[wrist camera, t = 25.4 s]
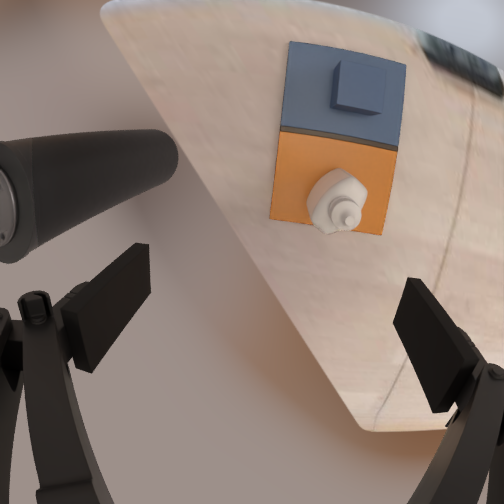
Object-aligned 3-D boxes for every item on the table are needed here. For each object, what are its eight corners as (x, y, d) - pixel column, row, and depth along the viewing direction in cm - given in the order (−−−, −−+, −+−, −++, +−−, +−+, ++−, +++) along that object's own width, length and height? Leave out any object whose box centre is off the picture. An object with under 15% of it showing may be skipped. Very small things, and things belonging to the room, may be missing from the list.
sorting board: (269, 217, 35) (269, 219, 35) (289, 42, 28) (289, 40, 27) (380, 233, 35) (381, 235, 34) (404, 65, 27) (406, 64, 27)
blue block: (329, 108, 30) (336, 104, 26) (333, 68, 28) (340, 59, 24) (370, 116, 29) (382, 113, 25) (374, 77, 28) (386, 69, 24)
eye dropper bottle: (298, 180, 33) (303, 204, 22) (347, 164, 32) (377, 180, 21) (310, 217, 34) (321, 259, 23) (358, 202, 33) (391, 237, 22)
